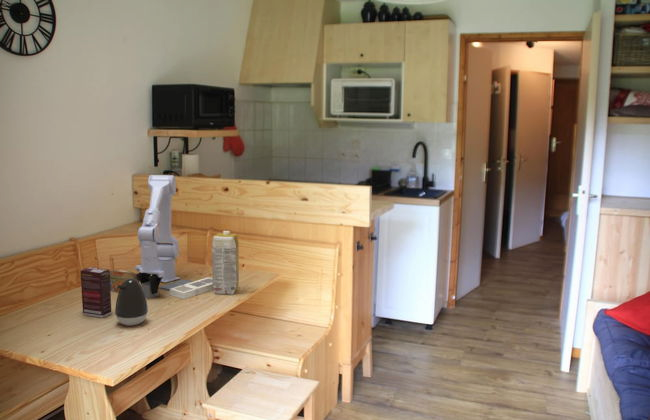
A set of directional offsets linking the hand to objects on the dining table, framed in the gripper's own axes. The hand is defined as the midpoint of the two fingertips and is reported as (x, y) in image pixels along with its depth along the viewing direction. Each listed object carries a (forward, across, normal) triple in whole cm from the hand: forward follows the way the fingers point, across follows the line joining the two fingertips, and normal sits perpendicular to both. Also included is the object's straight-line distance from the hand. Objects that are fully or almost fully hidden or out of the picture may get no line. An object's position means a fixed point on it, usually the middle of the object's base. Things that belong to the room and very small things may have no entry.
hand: (150, 292), depth 216 cm
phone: (+2, -2, +15) cm, 15 cm away
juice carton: (+2, +19, +21) cm, 28 cm away
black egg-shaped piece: (+2, +18, -22) cm, 28 cm away
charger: (+1, 0, 0) cm, 1 cm away
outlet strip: (+1, +9, +17) cm, 19 cm away
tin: (+2, -12, -3) cm, 13 cm away
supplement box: (+2, +2, -24) cm, 24 cm away
